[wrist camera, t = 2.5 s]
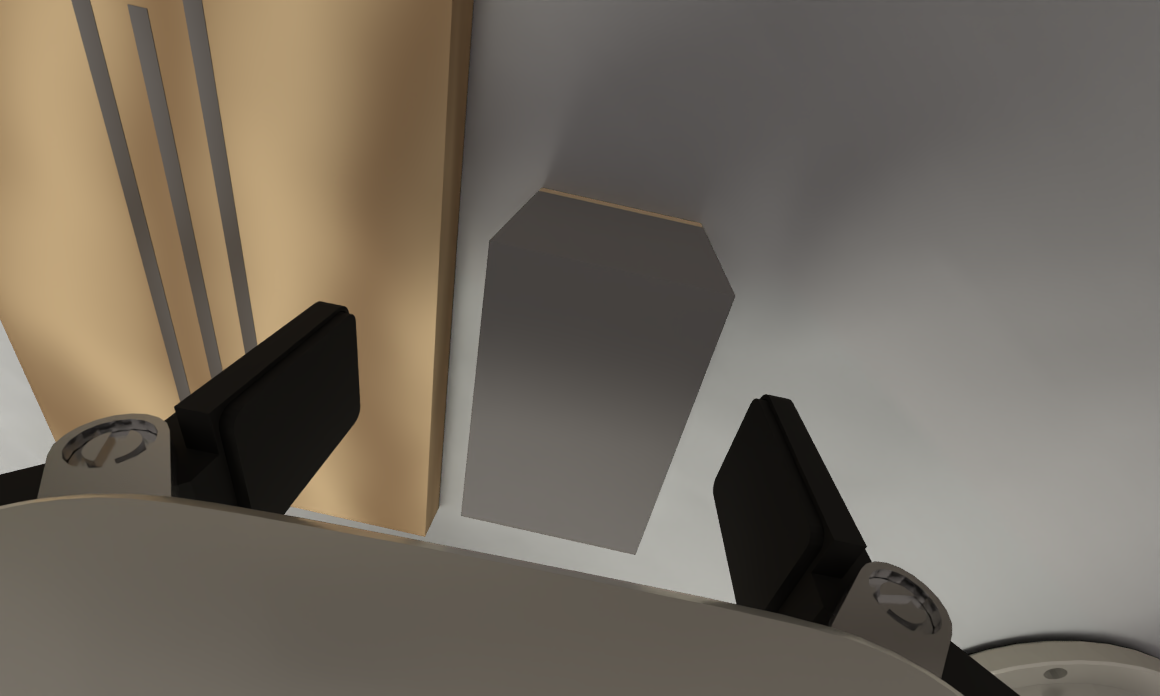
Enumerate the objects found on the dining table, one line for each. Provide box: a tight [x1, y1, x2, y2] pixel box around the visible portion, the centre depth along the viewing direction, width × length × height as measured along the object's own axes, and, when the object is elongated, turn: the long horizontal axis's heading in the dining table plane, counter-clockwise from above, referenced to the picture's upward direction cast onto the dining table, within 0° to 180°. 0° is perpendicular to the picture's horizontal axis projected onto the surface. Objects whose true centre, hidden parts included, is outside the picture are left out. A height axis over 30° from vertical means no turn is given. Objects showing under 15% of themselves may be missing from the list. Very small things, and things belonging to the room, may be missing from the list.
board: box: [0, 0, 474, 537], centre depth 16 cm, size 16×22×2 cm
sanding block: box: [461, 188, 735, 555], centre depth 14 cm, size 5×8×6 cm, turn 169°
